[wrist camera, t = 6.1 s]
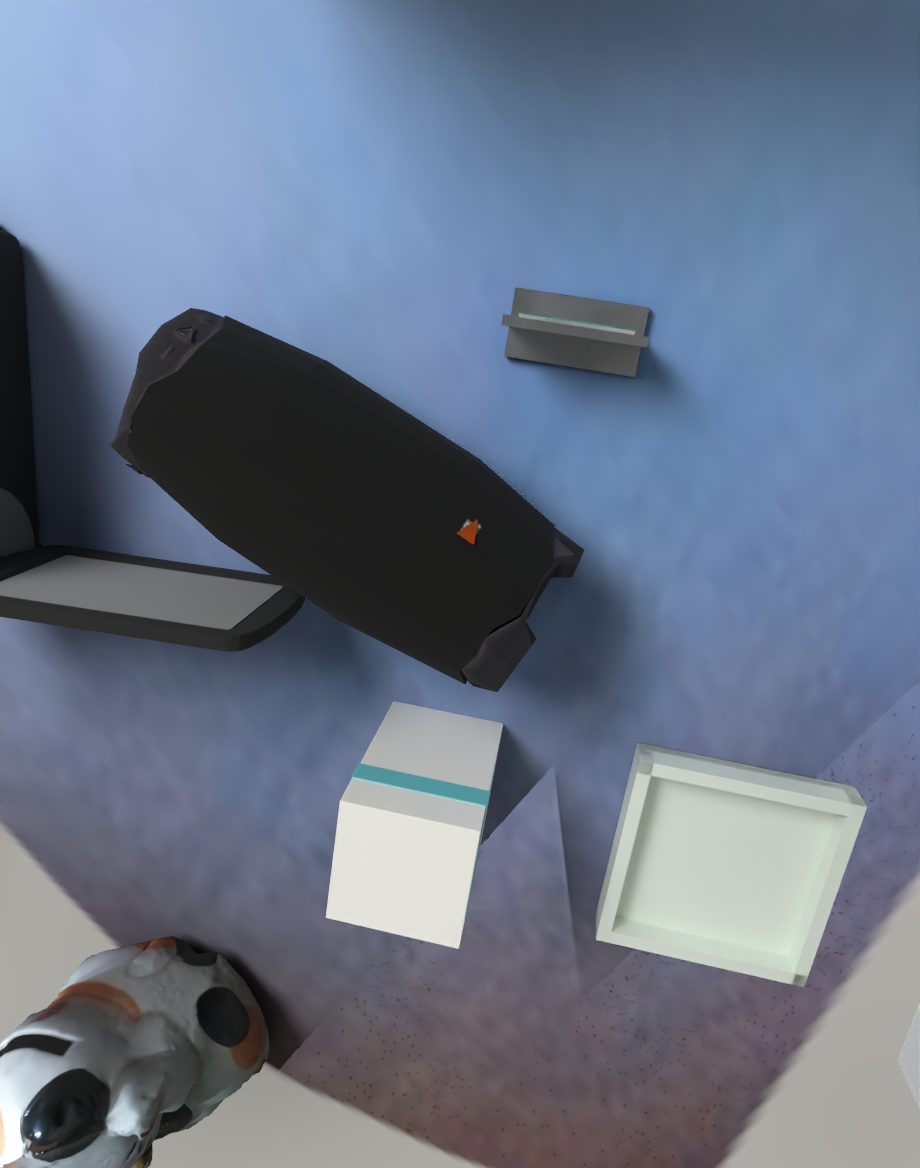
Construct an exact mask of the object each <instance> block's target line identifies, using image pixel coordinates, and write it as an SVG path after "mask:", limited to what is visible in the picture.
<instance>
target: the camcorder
mask: <svg viewBox="0 0 920 1168" xmlns="http://www.w3.org/2000/svg"><path fill="white" fill-rule="evenodd" d="M304 600H305V597H304V596H302V595H301V594H299V593H298V592H296V591H295V590H293V589H292V588H290V587H289V586H287V585H286V584H284V583H283V582H281V581H280V580H278V579H277V578H275V577H274V576H272V575H266V574H259V573H252V572H245V571H238V570H231V569H224V568H217V567H210V566H203V565H196V564H189V563H182V562H174V561H167V560H160V559H153V558H146V557H139V556H132V555H125V554H118V553H111V552H104V551H97V550H90V549H83V548H76V547H69V546H62V545H48V546H43V545H42V544H38V540H37V512H36V494H35V477H34V459H33V441H32V423H31V405H30V387H29V370H28V352H27V334H26V316H25V298H24V280H23V263H22V253H21V247H20V244H19V241H18V240H17V239H16V237H15V236H13V235H12V234H11V233H8V232H5V231H1V230H0V617H7V618H13V619H20V620H26V621H33V622H39V623H46V624H52V625H59V626H65V627H72V628H78V629H84V630H91V631H97V632H104V633H110V634H117V635H123V636H130V637H136V638H143V639H149V640H156V641H162V642H169V643H175V644H182V645H188V646H195V647H201V648H208V649H214V650H221V651H240V650H245V649H247V648H250V647H252V646H254V645H255V644H257V643H259V642H261V641H263V640H264V639H266V638H268V637H270V636H271V635H272V634H273V633H275V632H276V631H277V630H278V629H280V628H281V627H282V626H283V625H285V624H286V623H287V622H288V621H289V620H290V619H291V618H292V617H293V616H294V615H295V614H296V613H297V611H298V610H299V609H300V608H301V607H302V605H303V603H304Z"/></svg>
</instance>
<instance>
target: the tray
mask: <svg viewBox="0 0 920 1168" xmlns="http://www.w3.org/2000/svg"><path fill="white" fill-rule="evenodd" d="M866 809H867V806H866V805H865V803H864V801H863V800H862V798H861V797H860V795H859V793H858V792H857V790H856V788H855V787H853V786H848V785H843V784H839V783H834V782H829V781H824V780H819V779H814V778H809V777H804V776H799V775H794V774H789V773H784V772H780V771H775V770H770V769H765V768H760V767H755V766H750V765H745V764H740V763H735V762H730V761H725V760H721V759H716V758H711V757H706V756H701V755H696V754H691V753H686V752H681V751H676V750H671V749H666V748H662V747H657V746H652V745H647V744H642V743H637V746H636V750H635V754H634V759H633V763H632V767H631V771H630V775H629V779H628V783H627V787H626V791H625V796H624V800H623V804H622V808H621V812H620V816H619V820H618V824H617V828H616V833H615V837H614V841H613V845H612V849H611V853H610V857H609V861H608V865H607V870H606V874H605V878H604V882H603V886H602V890H601V894H600V898H599V902H598V907H597V911H596V915H595V929H596V940H599V941H604V942H608V943H613V944H617V945H621V946H626V947H630V948H634V949H639V950H643V951H648V952H652V953H656V954H661V955H665V956H670V957H674V958H678V959H683V960H687V961H692V962H696V963H700V964H705V965H709V966H713V967H718V968H722V969H727V970H731V971H735V972H740V973H744V974H749V975H753V976H757V977H762V978H766V979H771V980H775V981H779V982H784V983H788V984H792V985H797V986H801V987H804V986H805V983H806V980H807V977H808V975H809V972H810V969H811V966H812V963H813V960H814V957H815V955H816V952H817V949H818V946H819V943H820V940H821V937H822V934H823V932H824V929H825V926H826V923H827V920H828V917H829V914H830V912H831V909H832V906H833V903H834V900H835V897H836V894H837V892H838V889H839V886H840V883H841V880H842V877H843V874H844V872H845V869H846V866H847V863H848V860H849V857H850V854H851V852H852V849H853V846H854V843H855V840H856V837H857V834H858V832H859V829H860V826H861V823H862V820H863V817H864V814H865V811H866Z"/></svg>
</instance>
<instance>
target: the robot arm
mask: <svg viewBox="0 0 920 1168" xmlns="http://www.w3.org/2000/svg"><path fill="white" fill-rule="evenodd" d="M898 1063H899V1066H900V1068H901V1070H902V1072H903V1074H904V1077H905V1079H906V1081H907V1083H908V1085H909V1087H910V1089H911V1091H912V1094H913V1096H914V1098H915V1100H916V1102H917V1104H918V1107H919V1109H920V1002H919V1005H918V1007H917V1010H916V1013H915V1015H914V1018H913V1021H912V1024H911V1026H910V1029H909V1032H908V1034H907V1037H906V1040H905V1043H904V1045H903V1048H902V1051H901V1053H900V1056H899V1059H898Z"/></svg>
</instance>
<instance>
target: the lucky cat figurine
mask: <svg viewBox="0 0 920 1168" xmlns="http://www.w3.org/2000/svg"><path fill="white" fill-rule="evenodd" d="M269 1049H270V1047H269V1035H268V1030H267V1026H266V1022H265V1019H264V1017H263V1014H262V1011H261V1009H260V1006H259V1005H258V1003H257V1001H256V999H255V998H254V996H253V994H252V992H251V990H250V988H249V987H248V986H247V984H246V982H245V981H244V980H243V979H242V978H241V976H240V975H239V974H238V973H237V972H236V971H235V970H234V969H233V968H232V966H231V965H230V964H229V963H228V962H227V960H226V959H225V958H224V957H222V955H221V954H220V953H215V952H206V953H199V954H196V953H195V952H194V951H193V950H192V948H191V947H190V946H189V945H188V944H187V943H186V941H184V940H180V939H177V938H175V937H174V936H171V937H165V938H160V939H156V940H152V941H148V942H144V943H139V944H135V945H130V946H126V947H121V948H117V949H112V950H107V951H104V952H101V953H98V954H96V955H92V956H91V957H89V958H87V959H86V960H85V961H84V962H82V963H81V964H80V966H79V967H78V969H77V970H76V971H75V972H74V973H73V974H72V975H71V977H70V978H69V980H68V981H67V983H66V984H64V985H62V987H61V990H60V992H59V994H58V997H57V998H56V999H55V1000H54V1001H53V1002H52V1003H51V1004H50V1005H49V1006H48V1007H47V1008H46V1009H44V1010H42V1011H40V1012H38V1013H34V1014H31V1015H30V1016H28V1018H27V1019H26V1020H25V1021H24V1022H23V1023H22V1024H20V1025H19V1026H18V1027H17V1028H16V1029H15V1030H14V1031H12V1032H11V1033H10V1034H9V1035H8V1036H7V1037H6V1038H5V1039H4V1040H3V1041H2V1042H1V1044H0V1168H147V1167H148V1166H149V1165H150V1163H151V1160H152V1142H153V1141H154V1140H156V1139H159V1138H162V1137H164V1136H166V1135H168V1134H170V1133H173V1132H179V1131H182V1130H184V1129H189V1128H190V1127H192V1126H193V1125H195V1124H197V1123H198V1122H199V1121H201V1120H202V1119H203V1118H204V1117H207V1116H209V1115H210V1114H211V1113H212V1112H213V1111H214V1110H215V1109H216V1108H217V1107H218V1105H219V1104H220V1103H221V1102H222V1101H223V1100H224V1099H225V1098H227V1097H228V1096H230V1095H232V1094H233V1093H235V1092H236V1091H237V1090H238V1089H240V1088H241V1086H242V1084H243V1083H244V1082H246V1081H248V1080H249V1079H250V1077H251V1076H252V1075H254V1074H256V1073H259V1072H260V1070H261V1069H262V1066H263V1064H264V1062H265V1061H266V1059H267V1058H268V1055H269Z"/></svg>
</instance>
